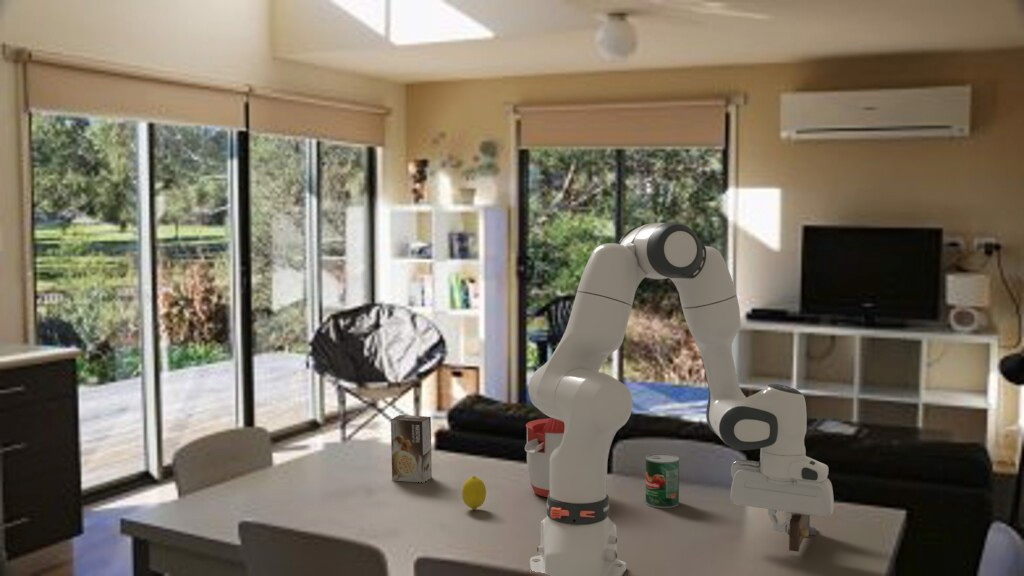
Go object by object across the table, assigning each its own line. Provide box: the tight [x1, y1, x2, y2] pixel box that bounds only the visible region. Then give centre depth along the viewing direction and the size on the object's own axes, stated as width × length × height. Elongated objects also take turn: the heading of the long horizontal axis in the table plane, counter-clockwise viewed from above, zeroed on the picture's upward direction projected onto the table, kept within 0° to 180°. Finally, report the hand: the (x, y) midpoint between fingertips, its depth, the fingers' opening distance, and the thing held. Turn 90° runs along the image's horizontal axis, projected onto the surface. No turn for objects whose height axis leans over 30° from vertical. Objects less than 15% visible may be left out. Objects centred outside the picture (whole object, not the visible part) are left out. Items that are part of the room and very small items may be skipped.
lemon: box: [461, 475, 487, 511], centre depth 223 cm, size 6×6×8 cm
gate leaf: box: [788, 513, 810, 552], centre depth 198 cm, size 3×14×6 cm, turn 155°
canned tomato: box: [645, 453, 680, 509], centre depth 228 cm, size 8×8×11 cm
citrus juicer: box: [524, 417, 565, 498], centre depth 236 cm, size 16×17×20 cm
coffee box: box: [390, 414, 433, 484], centre depth 249 cm, size 9×6×16 cm
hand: (780, 531), depth 196 cm, fingers closed
